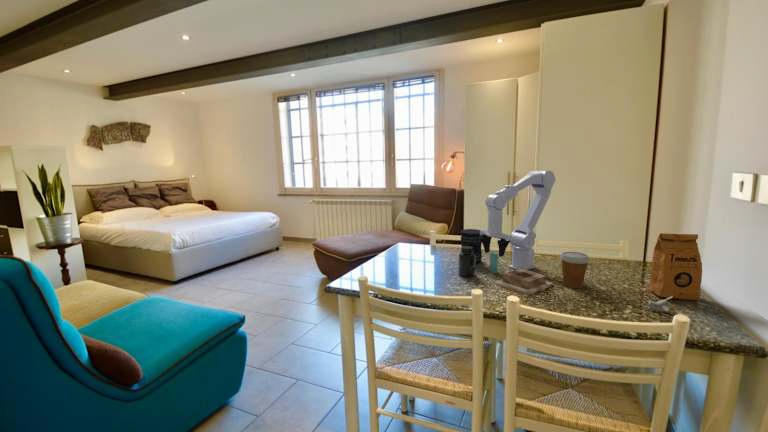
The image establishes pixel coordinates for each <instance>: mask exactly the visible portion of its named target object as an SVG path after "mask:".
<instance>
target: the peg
mask: <svg viewBox="0 0 768 432" xmlns="http://www.w3.org/2000/svg"><path fill="white" fill-rule="evenodd" d="M489 254H490V255H489V256H490V258H489V272H490V273H492V274H497V273H499V269H498V268H499V253H497V252H489Z"/></svg>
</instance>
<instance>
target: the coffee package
mask: <svg viewBox="0 0 768 432" xmlns="http://www.w3.org/2000/svg"><path fill="white" fill-rule="evenodd" d="M698 239H699V234H698V233H697V234H696V233H661V232H660V233H659V234H658V237H657V241H656V243H655V245H654V247H653V253H652V258H651V259H652V260H651V261H652V262H651V268H650V269H651V270H650V277H649V278H650V279H649V289H648V290H649V292H652V293H653V294H655V295H656V296H658V297H660V298H665V299H667V298H669V297H671V296H673V298H672V299H675V300H676V299H678V300H687V301H688V300H689V301H690V300H691V301H698V300H699V299H700V298H701V285H702V280H703V278H702V277H703V276H702V275H703V263H702V259H701V253H700V251H699V246H698V242H697V240H698Z"/></svg>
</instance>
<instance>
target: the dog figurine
mask: <svg viewBox="0 0 768 432" xmlns="http://www.w3.org/2000/svg"><path fill="white" fill-rule="evenodd" d="M671 299H674V298H673V296H671V297H669V298H665V299H660V300H658V301H651V300H650V299H649V298H647V300H648V302H647V305H648V307H647V310H648V311H649V310H653V309H657V308H659V311H661V313H663V312H669V311H670V309H671V304H669V303H668V301H670V300H671Z"/></svg>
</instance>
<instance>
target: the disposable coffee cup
mask: <svg viewBox="0 0 768 432" xmlns="http://www.w3.org/2000/svg"><path fill="white" fill-rule="evenodd" d="M559 258H560V261H561V269H562V283H563V286H564V287H567V288H570V289H582V288H583V285H584V281H585V276H586V272H587V266H588V263H589V261H590V258H589V256H588V254H586V253H583V252H578V251H563V252H562V253H561V255H560V256H559Z"/></svg>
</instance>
